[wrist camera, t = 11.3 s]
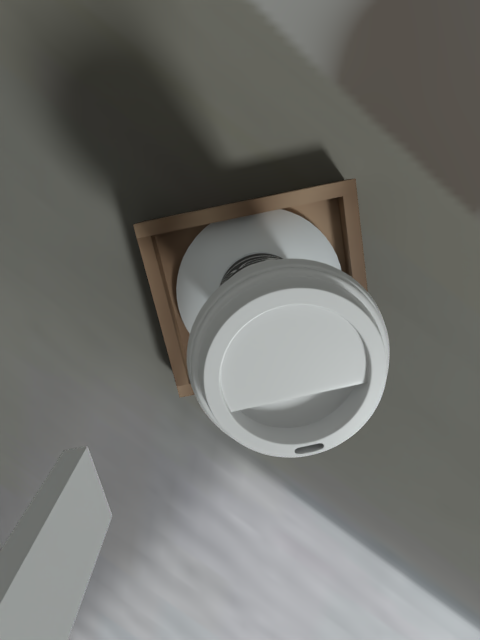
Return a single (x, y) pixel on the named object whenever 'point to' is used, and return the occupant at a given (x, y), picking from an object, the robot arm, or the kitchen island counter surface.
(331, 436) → the coffee cup
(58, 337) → the kitchen island counter surface
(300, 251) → the saucer
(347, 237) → the tray
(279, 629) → the kitchen island counter surface
